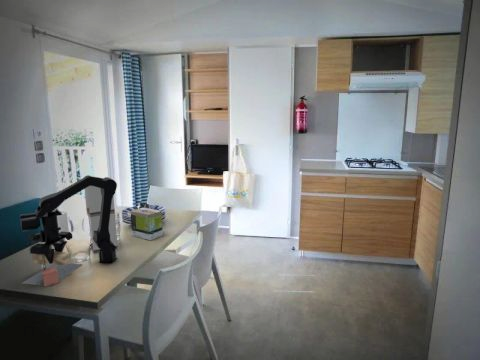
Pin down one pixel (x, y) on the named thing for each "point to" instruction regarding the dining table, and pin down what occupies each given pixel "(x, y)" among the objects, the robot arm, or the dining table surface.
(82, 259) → the dining table surface
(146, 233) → the tea box
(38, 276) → the base plate
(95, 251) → the tall white box
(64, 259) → the link
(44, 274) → the keeper
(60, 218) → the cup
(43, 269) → the pintle
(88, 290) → the dining table surface
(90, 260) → the dining table surface
